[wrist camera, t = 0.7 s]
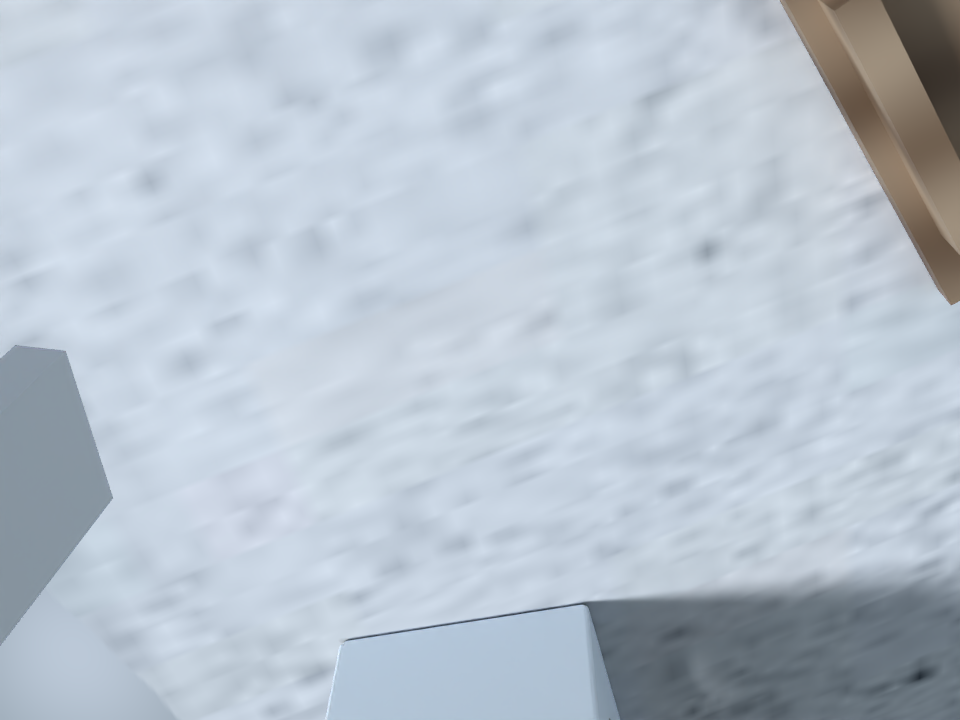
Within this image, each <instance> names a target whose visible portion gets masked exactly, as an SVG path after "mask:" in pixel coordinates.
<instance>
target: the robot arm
mask: <svg viewBox="0 0 960 720" xmlns="http://www.w3.org/2000/svg"><path fill="white" fill-rule="evenodd" d="M112 499H113V496H112V493H111V490H110V487H109V484H108V481H107V478H106V475H105V472H104V469H103V465H102V462H101V459H100V456H99V453H98V450H97V447H96V444H95V441H94V438H93V435H92V431H91V428H90V425H89V422H88V419H87V416H86V413H85V410H84V407H83V404H82V400H81V397H80V394H79V391H78V388H77V385H76V382H75V379H74V376H73V373H72V370H71V366H70V363H69V360H68V357H67V354H66V351H63V350H54V349H44V348H35V347H26V346H17V345H15V346H14V347H13V348H12V349H11V350H10V351H8V352H7V353H6V354H5V355H4V356H3V357H2V358H1V359H0V646H1V644H2V643H3V642H4V640H5V639H6V638H7V636H8V635H9V634H10V633H11V631H12V630H13V629H14V627H15V626H16V625H17V623H18V622H19V621H20V619H21V618H22V617H23V615H24V614H25V613H26V611H27V610H28V609H29V608H30V606H31V605H32V604H33V602H34V601H35V600H36V598H37V597H38V596H39V594H40V593H41V592H42V590H43V589H44V588H45V587H46V585H47V584H48V583H49V581H50V580H51V579H52V577H53V576H54V575H55V573H56V572H57V571H58V570H59V568H60V567H61V566H62V564H63V563H64V562H65V560H66V559H67V558H68V556H69V555H70V554H71V552H72V551H73V550H74V549H75V547H76V546H77V545H78V543H79V542H80V541H81V539H82V538H83V537H84V535H85V534H86V533H87V531H88V530H89V529H90V528H91V526H92V525H93V524H94V522H95V521H96V520H97V518H98V517H99V516H100V514H101V513H102V512H103V510H104V509H105V508H106V507H107V505H108V504H109V503H110V501H111V500H112Z"/></svg>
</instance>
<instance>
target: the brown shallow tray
mask: <svg viewBox="0 0 960 720" xmlns="http://www.w3.org/2000/svg"><path fill="white" fill-rule="evenodd" d="M780 2H781V4H782V5H783V7H784V9H785V11H786V13H787V14H788V16H789V18H790V20H791V22H792V24H793V25H794V27H795V29H796V31H797V33H798V35H799V36H800V38H801V40H802V42H803V44H804V46H805V47H806V49H807V51H808V53H809V55H810V57H811V58H812V60H813V62H814V64H815V66H816V67H817V69H818V71H819V73H820V75H821V77H822V78H823V80H824V82H825V84H826V86H827V88H828V89H829V91H830V93H831V95H832V97H833V99H834V100H835V102H836V104H837V106H838V108H839V109H840V111H841V113H842V115H843V117H844V119H845V120H846V122H847V124H848V126H849V128H850V130H851V131H852V133H853V135H854V137H855V139H856V141H857V142H858V144H859V146H860V148H861V150H862V151H863V153H864V155H865V157H866V159H867V161H868V162H869V164H870V166H871V168H872V170H873V172H874V173H875V175H876V177H877V179H878V181H879V183H880V184H881V186H882V188H883V190H884V192H885V193H886V195H887V197H888V199H889V201H890V203H891V204H892V206H893V208H894V210H895V212H896V214H897V215H898V217H899V219H900V221H901V223H902V225H903V226H904V228H905V230H906V232H907V234H908V235H909V237H910V239H911V241H912V243H913V245H914V246H915V248H916V250H917V252H918V254H919V256H920V257H921V259H922V261H923V263H924V265H925V267H926V268H927V270H928V272H929V274H930V276H931V277H932V279H933V281H934V283H935V285H936V287H937V288H938V290H939V291H940V293H941V294H942V295H943V296H944V297H945V299H946V300H947V301H948V302H949V303H950V305H953V304H955V303H957V302H958V301H960V0H780Z"/></svg>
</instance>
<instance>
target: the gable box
mask: <svg viewBox="0 0 960 720" xmlns="http://www.w3.org/2000/svg"><path fill="white" fill-rule="evenodd" d="M325 720H620V717H619V713H618V710H617V706H616V703H615V699H614V696H613V692H612V689H611V685H610V682H609V678H608V675H607V671H606V668H605V664H604V661H603V657H602V653H601V650H600V646H599V643H598V639H597V636H596V632H595V629H594V625H593V622H592V618H591V615H590V611H589V608H588V606H586V605H583V604H582V605H575V606H569V607H562V608H556V609H549V610H543V611H537V612H530V613H524V614H517V615H511V616H504V617H498V618H491V619H485V620H478V621H472V622H465V623H459V624H452V625H446V626H439V627H433V628H426V629H420V630H414V631H407V632H401V633H394V634H388V635H381V636H375V637H368V638H362V639H355V640H349V641H344V644H343V645H341V646H340V647H339V652H338V657H337V662H336V667H335V672H334V677H333V683H332V688H331V693H330V698H329V703H328V708H327V714H326V719H325Z"/></svg>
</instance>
